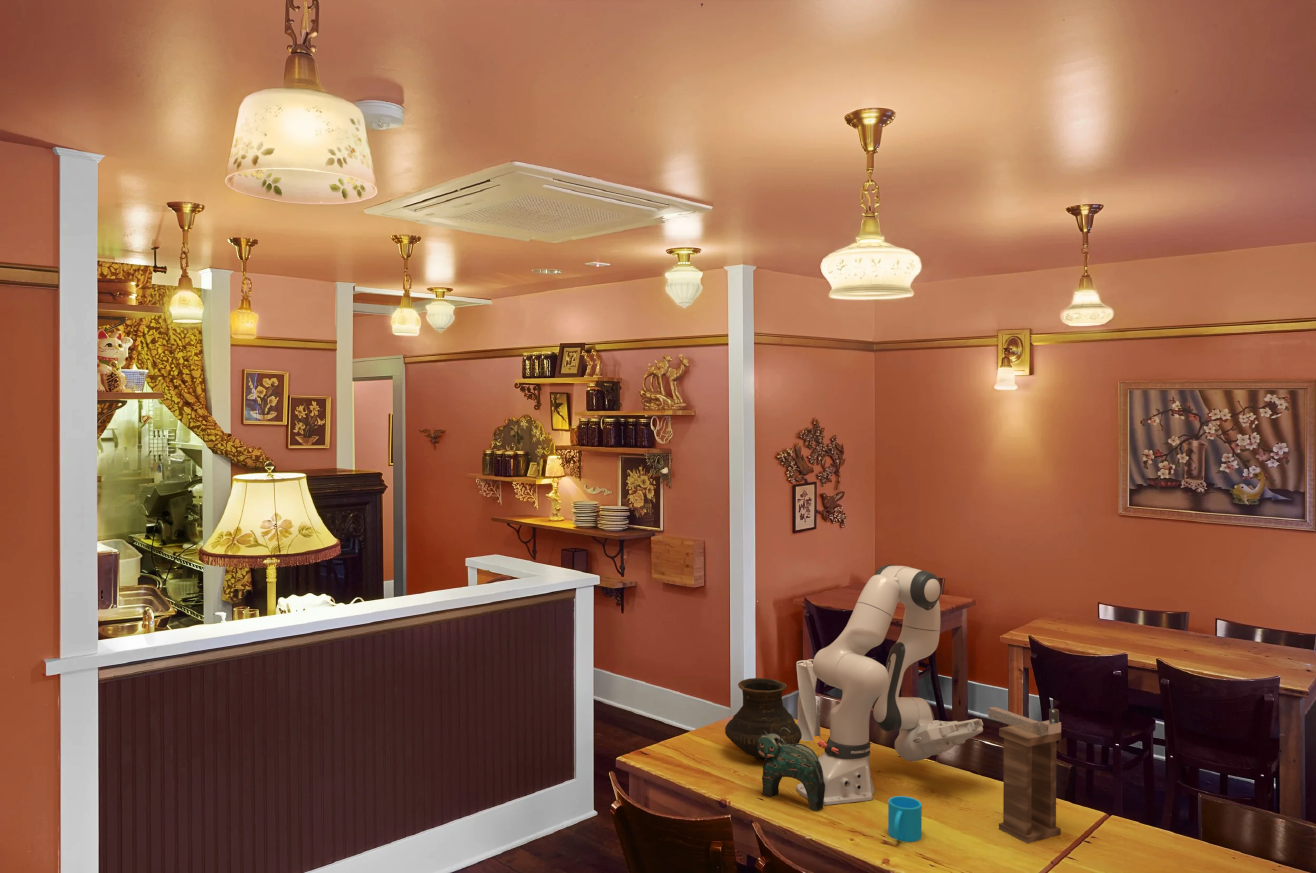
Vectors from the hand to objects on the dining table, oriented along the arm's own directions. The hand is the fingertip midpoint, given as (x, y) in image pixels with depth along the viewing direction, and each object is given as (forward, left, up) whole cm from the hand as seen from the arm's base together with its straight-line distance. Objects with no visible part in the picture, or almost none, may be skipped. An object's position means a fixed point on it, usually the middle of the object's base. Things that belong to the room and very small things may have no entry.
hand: (968, 724), depth 243 cm
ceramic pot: (-32, +55, -21) cm, 67 cm away
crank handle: (+2, -17, +5) cm, 18 cm away
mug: (-33, -10, -21) cm, 40 cm away
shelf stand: (-1, -21, -21) cm, 30 cm away
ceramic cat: (-45, +21, -21) cm, 54 cm away
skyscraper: (-10, +61, -22) cm, 66 cm away
